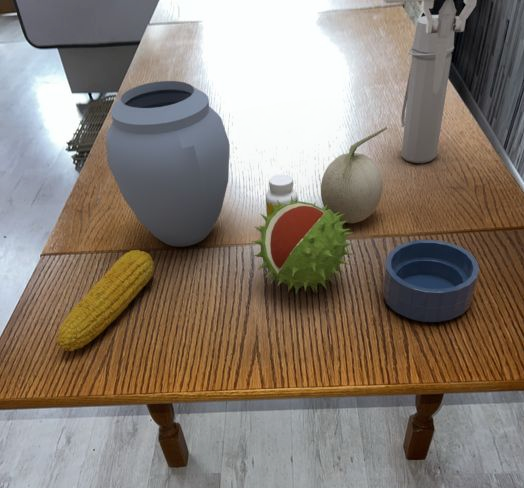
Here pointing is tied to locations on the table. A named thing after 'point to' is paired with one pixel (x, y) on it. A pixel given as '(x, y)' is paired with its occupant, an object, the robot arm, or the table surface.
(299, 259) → the chestnut
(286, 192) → the supplement bottle
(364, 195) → the fruit
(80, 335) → the food
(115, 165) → the vase
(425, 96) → the water bottle
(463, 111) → the table surface
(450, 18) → the pen
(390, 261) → the bowl
